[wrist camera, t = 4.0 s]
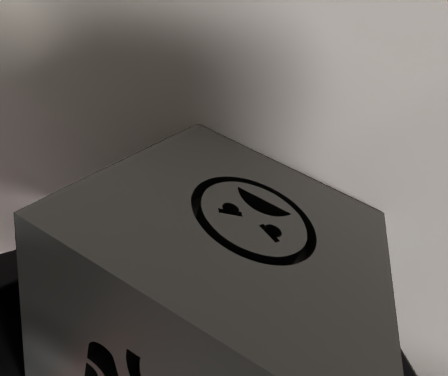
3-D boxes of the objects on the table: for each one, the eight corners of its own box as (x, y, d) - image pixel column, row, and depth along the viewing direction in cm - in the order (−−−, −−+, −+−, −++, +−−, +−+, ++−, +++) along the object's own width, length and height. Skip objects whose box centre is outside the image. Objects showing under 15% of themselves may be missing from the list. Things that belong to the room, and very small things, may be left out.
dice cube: (197, 123, 8) (13, 212, 4) (383, 213, 7) (414, 462, 3) (160, 255, 11) (26, 395, 6) (292, 333, 10) (238, 558, 5)
